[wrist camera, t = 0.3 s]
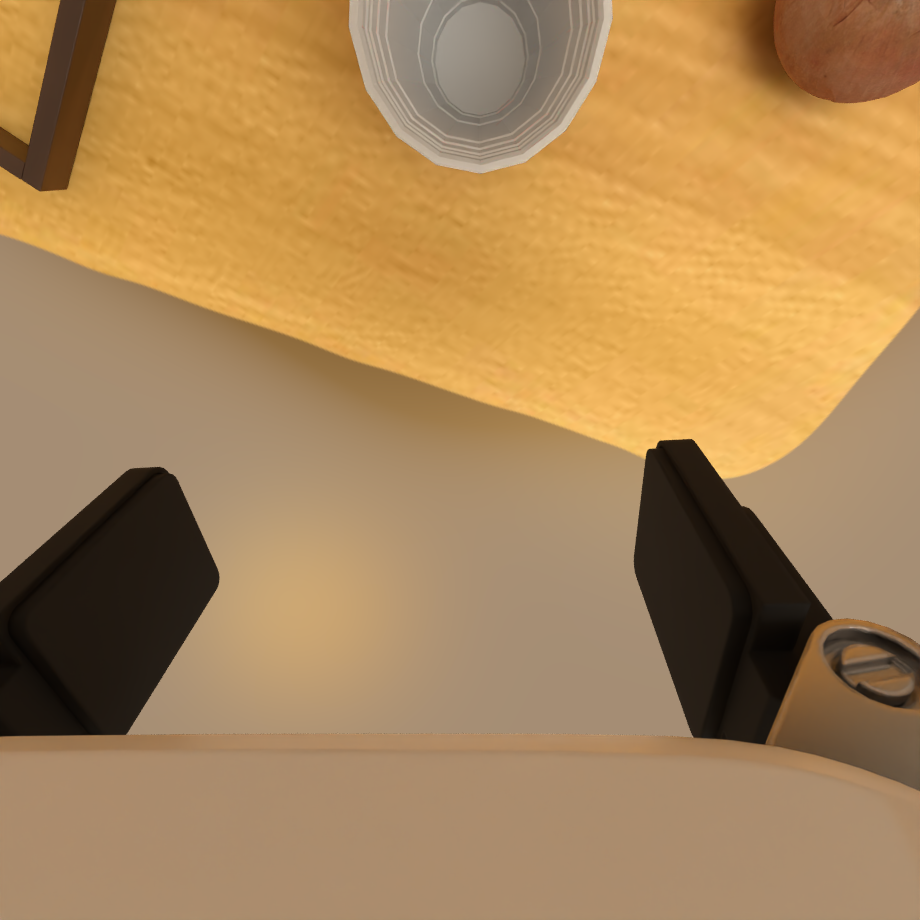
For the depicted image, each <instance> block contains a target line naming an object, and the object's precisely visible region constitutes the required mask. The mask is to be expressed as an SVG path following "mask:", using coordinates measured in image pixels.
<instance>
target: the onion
mask: <svg viewBox="0 0 920 920" xmlns="http://www.w3.org/2000/svg"><path fill="white" fill-rule="evenodd" d="M774 41H775V46H776V51H777V54H778V57H779V59H780V62H781V64H782V66H783V69H784V70H785V72H786V73H787V75H788V76H789V77H790V78H791V80H792V81H794V82H795V83H796V84H797V85H798V86H799V87H800V88H801V89H803V90H805V91H806V92H808V93H810V94H812V95H813V96H816V97H819V98H822V99H826V100H831V101H833V102H838V103H857V102H866V101H870V100H875V99H879V98H883V97H887V96H889V95H891V94H894V93H896V92H898V91H900V90H903V89H905V88H907V87H909V86H911V85H913V84H915V83H917V82H918V81H920V0H776V3H775V9H774Z"/></svg>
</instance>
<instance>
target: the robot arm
mask: <svg viewBox="0 0 920 920" xmlns="http://www.w3.org/2000/svg"><path fill="white" fill-rule="evenodd" d="M634 568H635V574H636V577H637V580H638V583H639V586H640V589H641V591H642V594H643V597H644V600H645V603H646V606H647V609H648V611H649V614H650V617H651V620H652V623H653V625H654V628H655V631H656V634H657V637H658V640H659V643H660V646H661V648H662V651H663V654H664V657H665V660H666V663H667V666H668V668H669V671H670V674H671V677H672V680H673V683H674V685H675V688H676V691H677V694H678V697H679V700H680V702H681V705H682V708H683V711H684V714H685V717H686V720H687V722H688V725H689V728H690V731H691V733H692V735H693V737H694V738H691V737H675V736H674V737H673V736H644V735H640V736H639V735H588V734H587V735H586V734H585V735H584V734H186V735H185V734H178V735H177V734H175V735H174V734H173V735H126V734H127V733H128V731H129V730H130V728H131V726H132V725H133V723H134V721H135V720H136V718H137V717H138V715H139V713H140V712H141V710H142V709H143V707H144V705H145V704H146V702H147V701H148V699H149V697H150V696H151V694H152V692H153V691H154V689H155V688H156V686H157V684H158V683H159V681H160V680H161V678H162V676H163V675H164V673H165V672H166V670H167V668H168V667H169V665H170V664H171V662H172V660H173V659H174V657H175V655H176V654H177V652H178V650H179V649H180V647H181V646H182V644H183V643H184V641H185V639H186V638H187V636H188V634H189V633H190V631H191V630H192V628H193V627H194V625H195V623H196V622H197V620H198V618H199V617H200V615H201V614H202V612H203V610H204V609H205V607H206V606H207V604H208V602H209V601H210V599H211V597H212V596H213V594H214V593H215V591H216V589H217V587H218V584H219V572H218V569H217V567H216V564H215V562H214V560H213V558H212V555H211V553H210V551H209V549H208V547H207V544H206V542H205V540H204V538H203V536H202V533H201V531H200V529H199V527H198V525H197V522H196V521H195V518H194V516H193V514H192V511H191V509H190V507H189V505H188V502H187V500H186V498H185V496H184V493H183V491H182V489H181V487H180V485H179V482H178V480H177V479H176V477H175V476H174V475H173V474H169V473H168V471H167V470H165V469H164V468H161V467H150V468H134V469H129V470H128V471H126V472H125V473H124V474H123V475H121V477H119V478H118V479H117V480H116V481H115V482H114V483H112V484H111V485H110V486H109V487H108V488H107V489H106V490H104V491H103V492H102V493H101V494H100V495H99V496H98V497H97V498H95V499H94V500H93V501H92V502H91V503H90V504H89V505H87V506H86V507H85V508H84V509H83V510H82V511H81V512H79V513H78V514H77V515H76V516H75V517H74V518H73V519H72V520H70V521H69V522H68V523H67V524H66V525H65V526H64V527H62V528H61V529H60V530H59V531H58V532H57V533H56V534H54V535H53V536H52V537H51V538H50V539H49V540H48V541H47V542H46V543H44V544H43V545H42V546H41V547H40V548H39V549H37V550H36V551H35V552H34V553H33V554H32V555H31V556H29V557H28V558H27V559H26V560H25V561H24V562H23V563H22V564H20V565H19V566H18V567H17V568H16V569H15V570H14V571H12V573H10V574H9V575H8V576H7V577H6V578H4V579H3V580H2V581H1V582H0V920H920V645H919V644H918V643H916V642H915V641H914V640H912V639H911V638H909V637H907V636H905V635H902V634H900V633H898V632H896V631H894V630H892V629H890V628H888V627H885V626H881V625H878V624H875V623H872V622H869V621H862V620H854V619H836V620H833V619H832V617H831V616H830V615H829V613H828V612H827V611H826V609H825V608H824V607H823V605H822V604H821V603H820V601H819V600H818V598H817V597H816V596H815V594H814V593H813V592H812V590H811V589H810V588H809V586H808V585H807V584H806V583H805V581H804V580H803V578H802V577H801V576H800V574H799V573H798V572H797V570H796V569H795V567H794V566H793V565H792V563H791V562H790V561H789V559H788V558H787V557H786V555H785V554H784V553H783V551H782V550H781V549H780V547H779V546H778V545H777V543H776V542H775V540H774V539H773V538H772V536H771V535H770V534H769V532H768V531H767V530H766V528H765V527H764V526H763V524H762V523H761V522H760V520H759V519H758V518H757V516H756V515H755V514H754V513H753V512H752V511H751V510H750V509H749V508H747V507H744V506H741V505H740V504H739V502H738V501H737V500H736V498H735V497H734V495H733V494H732V493H731V491H730V490H729V488H728V487H727V486H726V484H725V483H724V482H723V480H722V479H721V477H720V476H719V475H718V473H717V472H716V470H715V469H714V468H713V466H712V465H711V463H710V462H709V461H708V459H707V458H706V456H705V455H704V454H703V452H702V451H701V450H700V448H699V447H698V445H697V444H696V443H695V441H694V440H692V439H683V440H664V441H659V442H658V444H657V447H656V449H649V450H648V451H647V454H646V460H645V468H644V477H643V485H642V494H641V502H640V510H639V519H638V527H637V537H636V545H635V552H634Z"/></svg>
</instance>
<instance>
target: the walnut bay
mask: <svg viewBox="0 0 920 920" xmlns="http://www.w3.org/2000/svg"><path fill="white" fill-rule="evenodd" d="M115 2H116V0H60V5H59V10H58V14H57V19H56V23H55V28H54V33H53V37H52V42H51V47H50V51H49V56H48V60H47V65H46V70H45V74H44V79H43V83H42V88H41V93H40V97H39V102H38V106H37V111H36V116H35V120H34V125H33V130H32V134H31V139H30V143H29V146H28V145H26V144H25V143H23V142H22V141H20V140H19V139H17V138H16V137H14V136H13V135H11V134H10V133H8V132H7V131H5V130H4V129H2V128H1V127H0V166H1V167H2V168H4V169H5V170H7V171H9V172H10V173H12V174H13V175H15V176H16V177H18V178H19V179H22V180H23V181H24V182H26V183H28V184H29V185H31V186H32V187H34V188H35V189H37V190H38V191H51V190H64V189H67V186H68V182H69V178H70V174H71V170H72V167H73V163H74V159H75V155H76V151H77V147H78V144H79V140H80V136H81V132H82V128H83V124H84V121H85V117H86V113H87V109H88V105H89V102H90V98H91V94H92V90H93V86H94V82H95V79H96V75H97V71H98V67H99V63H100V60H101V56H102V52H103V48H104V44H105V40H106V37H107V33H108V29H109V25H110V21H111V18H112V14H113V10H114V6H115Z"/></svg>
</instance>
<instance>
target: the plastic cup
mask: <svg viewBox="0 0 920 920" xmlns="http://www.w3.org/2000/svg"><path fill="white" fill-rule="evenodd" d="M612 19H613V16H612V0H350V8H349V29H350V33H351V37H352V41H353V44H354V48H355V52H356V56H357V59H358V63H359V67H360V70H361V74H362V78H363V82H364V85H365V89H366V91H367V92H368V94H369V95H370V97H371V98H372V100H373V101H374V103H375V104H376V106H377V107H378V109H379V110H380V112H381V113H382V115H383V117H384V118H385V120H386V121H387V123H388V124H389V126H390V127H391V129H392V130H393V132H394V133H395V135H396V136H397V137H398V138H400V139H401V140H402V141H404V142H405V143H407V144H408V145H409V146H411V147H412V148H414V149H415V150H416V151H418V152H419V153H420V154H422V155H423V156H425V157H426V158H427V159H429V160H430V161H432V162H433V163H434V164H436V165H439V166H444V167H449V168H455V169H460V170H465V171H470V172H475V173H480V174H482V173H485V172H489V171H493V170H497V169H501V168H505V167H509V166H513V165H516V164H520V163H524V162H526V161H527V160H529V159H530V158H531V157H533V156H534V155H535V154H536V153H538V152H539V151H540V150H542V149H543V148H544V147H545V146H547V145H548V144H549V143H551V142H552V141H553V140H554V139H556V138H557V137H558V136H560V135H561V134H562V133H563V132H565V131H566V129H567V127H568V126H569V124H570V123H571V121H572V119H573V118H574V116H575V115H576V113H577V112H578V110H579V108H580V107H581V105H582V104H583V102H584V100H585V99H586V97H587V96H588V94H589V92H590V91H591V89H592V88H593V86H594V84H595V83H596V80H597V76H598V73H599V69H600V65H601V61H602V57H603V53H604V50H605V46H606V42H607V38H608V34H609V30H610V26H611V23H612Z"/></svg>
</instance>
